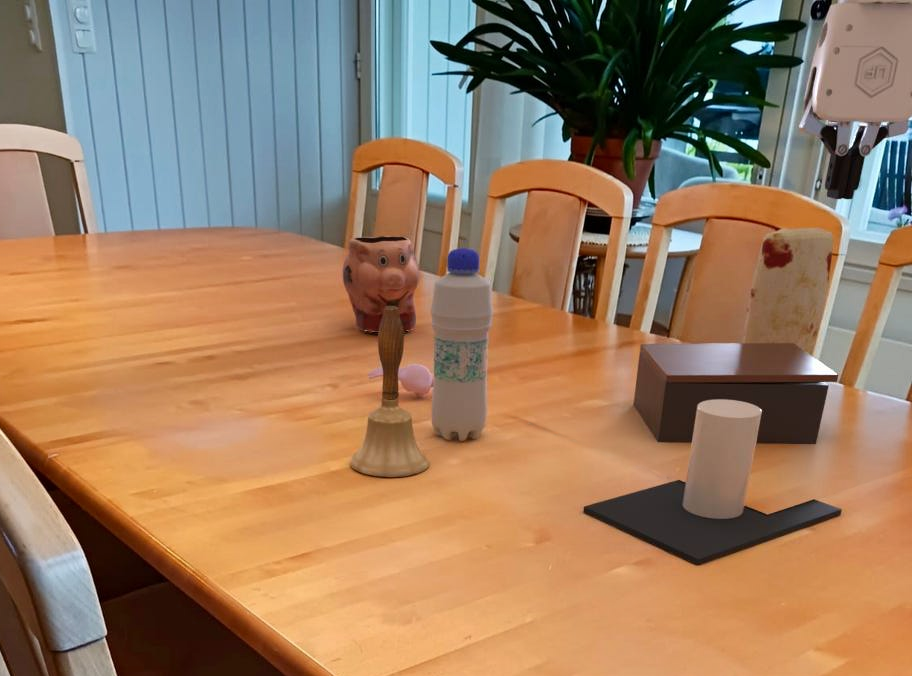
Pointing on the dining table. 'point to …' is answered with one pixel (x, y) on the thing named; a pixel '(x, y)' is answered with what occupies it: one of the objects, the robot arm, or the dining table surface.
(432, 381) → the rabbit figure
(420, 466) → the hand bell
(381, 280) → the decorative planter
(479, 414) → the bottle
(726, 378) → the open box lid
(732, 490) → the tall white cylinder
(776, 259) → the food model
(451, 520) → the dining table surface
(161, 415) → the dining table surface
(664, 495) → the mat
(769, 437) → the hinged jewelry box
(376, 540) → the dining table surface
